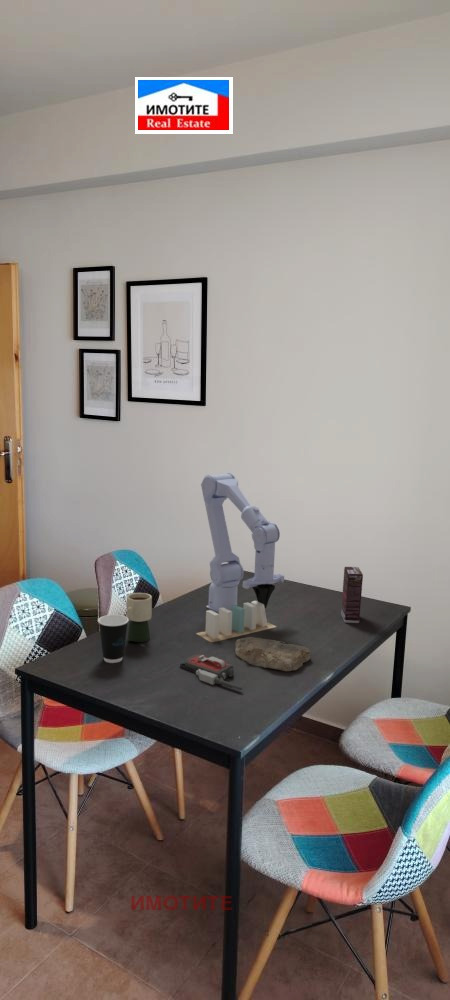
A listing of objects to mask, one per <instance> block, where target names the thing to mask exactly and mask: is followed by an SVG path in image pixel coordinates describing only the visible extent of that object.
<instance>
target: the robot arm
mask: <svg viewBox="0 0 450 1000" xmlns="http://www.w3.org/2000/svg"><path fill="white" fill-rule="evenodd" d="M200 486H201V492H202V498H203V501H204V506H205V510H206V515H207V521H208V526H209V530H210V535H211V540H212V545H213V550H214V556H213V558H212V559H211V561H210V562H209V567H210V569H209V571H210V572H209V576H210V577H209V578H210V580H211V583H210V585H209V588H208V605H206V606H205V607H206V608H207V609H210V610H212V611H214V612H216V613H218V614H219V608H223V607H224V608H226V609H228V610H230V611H231V606H233V605H237V606H238V587H239V586H238V585H239V584H240V581H242V579H243V578H244V573H245V572H244V568H243V567H244V566H243V565H242V564H241V562H240V557H239V556H238V555H236V554H235V553H234V552H233V550H232V546H231V541H230V537H229V532H228V531H229V530H228V528H227V527H228V526H227V522H226V516H225V512H224V507H223V504H224V502H225V501H226V500H227V499H228V500H230V501H231V503H232V504H233V505H234V506H235V507H236V508H237V509H238V510H239V511H240V513H241V514H240V515H241V516H240V518H241V520H242V521H243V522H244V523H245V525H246V527H248V529H249V530H250V532H251V538H252V542H253V548H254V550H255V551H254V552H255V555H254V556H255V557H254V576H253V577H251V578H248V579H246V580H243V581H242V588H244V589H246V590H248V589H250V588H252V590H253V592H254V593H255V596H256V601H258V602H260V603H262V604H264V607H265V609H267V606H268V604H269V601H270V598H271V596H272V593H274V591H275V589H276V586H275V583H285V575H284V574H280V573H279V574H274V572H275V554H276V553H275V552H276V551H275V550H276V543H277V542H278V541H279V539H280V536H281V535H280V529H279V527H278V526H277V524H275V523H273V522H270V521H268V520H267V518H266V517H265V516H264V515H263V513H262V512H261V511H260V508H259V507H257V506H256V505H251V504H250V502H249V501H248V499H247V498H246V497H245V495H244V493H243V492H242V491H241V489H240V488H239V480H238V479H237V478H236V476H235V475H234V474H233V473H231V472H228V473H220V474H207V475H205V476H204V477H203V479H202V481H201V484H200Z"/></svg>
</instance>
